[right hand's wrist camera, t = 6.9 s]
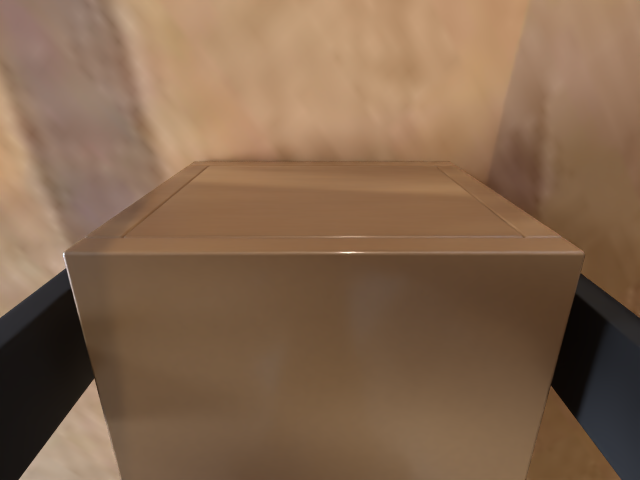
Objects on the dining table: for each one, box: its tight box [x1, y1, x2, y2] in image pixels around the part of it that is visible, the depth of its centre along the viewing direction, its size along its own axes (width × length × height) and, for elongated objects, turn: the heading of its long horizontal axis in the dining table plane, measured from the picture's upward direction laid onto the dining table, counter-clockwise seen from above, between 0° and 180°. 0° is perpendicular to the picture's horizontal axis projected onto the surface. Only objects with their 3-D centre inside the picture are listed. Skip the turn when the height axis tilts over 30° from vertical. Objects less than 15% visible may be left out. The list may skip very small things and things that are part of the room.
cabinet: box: [63, 162, 585, 480], centre depth 15 cm, size 18×10×9 cm, turn 0°
